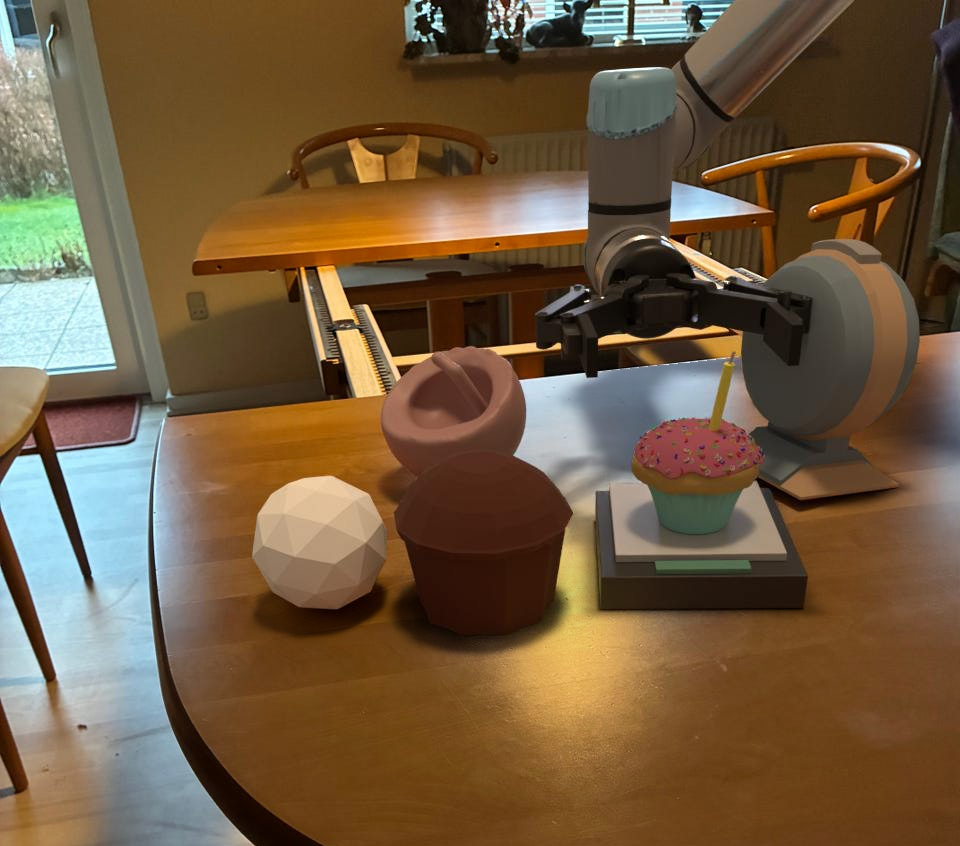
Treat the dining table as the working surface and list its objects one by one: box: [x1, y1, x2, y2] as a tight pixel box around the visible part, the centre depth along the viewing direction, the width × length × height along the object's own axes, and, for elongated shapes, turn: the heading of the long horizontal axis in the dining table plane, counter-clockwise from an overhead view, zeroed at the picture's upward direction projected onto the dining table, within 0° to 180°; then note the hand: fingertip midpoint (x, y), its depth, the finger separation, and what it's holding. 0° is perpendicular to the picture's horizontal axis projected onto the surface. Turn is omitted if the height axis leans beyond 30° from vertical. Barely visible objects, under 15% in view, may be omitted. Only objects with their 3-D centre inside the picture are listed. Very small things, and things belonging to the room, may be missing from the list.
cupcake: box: [630, 350, 765, 534], centre depth 65 cm, size 9×8×12 cm
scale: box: [594, 480, 809, 610], centre depth 69 cm, size 13×14×3 cm
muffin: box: [393, 450, 575, 637], centre depth 63 cm, size 12×11×10 cm
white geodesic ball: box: [251, 475, 388, 610], centre depth 66 cm, size 9×9×12 cm
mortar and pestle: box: [380, 345, 527, 478], centre depth 81 cm, size 12×12×12 cm
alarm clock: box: [740, 238, 921, 501], centre depth 77 cm, size 14×10×18 cm
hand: (694, 351), depth 65 cm, fingers open, 13 cm apart
